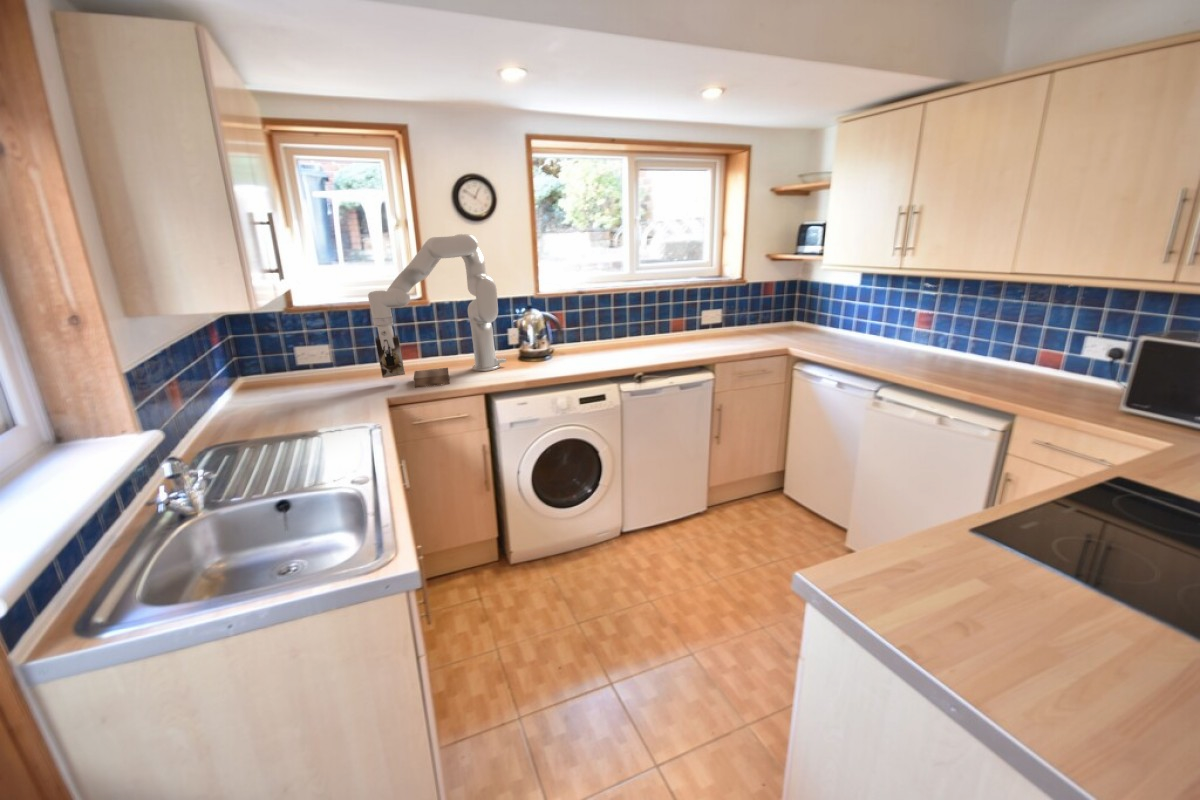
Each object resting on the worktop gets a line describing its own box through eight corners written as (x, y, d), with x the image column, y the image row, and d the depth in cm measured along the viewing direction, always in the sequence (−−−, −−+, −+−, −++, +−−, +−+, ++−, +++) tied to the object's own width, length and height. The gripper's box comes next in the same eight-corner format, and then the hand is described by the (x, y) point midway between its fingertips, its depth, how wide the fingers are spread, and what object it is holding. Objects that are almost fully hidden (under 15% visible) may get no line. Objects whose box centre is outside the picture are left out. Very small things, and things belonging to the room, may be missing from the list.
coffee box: (382, 378, 219) (374, 340, 214) (382, 374, 225) (374, 337, 220) (405, 374, 222) (398, 337, 217) (404, 371, 228) (397, 334, 223)
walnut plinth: (449, 376, 235) (447, 367, 234) (449, 383, 223) (448, 374, 222) (416, 379, 231) (414, 371, 230) (415, 387, 219) (413, 378, 218)
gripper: (391, 324, 209) (399, 367, 215) (394, 317, 225) (402, 357, 231) (371, 326, 207) (380, 369, 213) (375, 319, 223) (384, 360, 229)
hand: (391, 363), depth 222 cm, fingers closed on coffee box, 6 cm apart
